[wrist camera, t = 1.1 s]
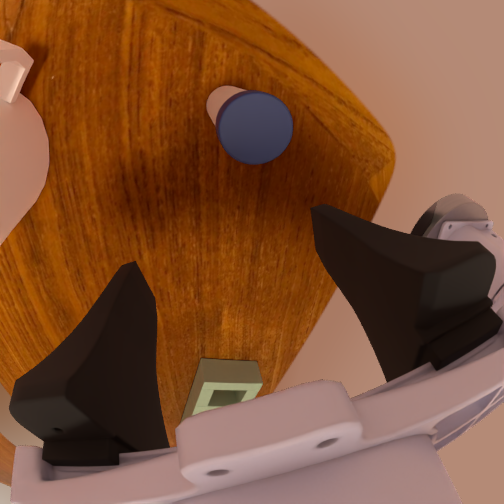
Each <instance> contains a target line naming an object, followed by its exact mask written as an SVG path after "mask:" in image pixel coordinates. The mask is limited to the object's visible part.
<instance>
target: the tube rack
mask: <svg viewBox="0 0 504 504" xmlns="http://www.w3.org/2000/svg"><path fill="white" fill-rule="evenodd" d="M262 385H263V381H262V378H261V374H260V371H259V367H258V364H257V361H239V360H220V359H205V358H201V360H200V363H199V367H198V370H197V373H196V376H195V379H194V382H193V385H192V388H191V391H190V394H189V397H188V400H187V403H186V407H185V410H184V413H183V416H182V419H181V422H180V424H181V423H182V422H183V420H185V419H186V418H187V417H190V416H192V415H195V414H198V413H200V412H203V411H207V410H211V409H215V408H220V407H224V406H228V405H232V404H236V403H239V402H243V401H247V400H250V399H254V398H255V396H256V395H257V393H258V391H259V390H260V388H261V386H262Z"/></svg>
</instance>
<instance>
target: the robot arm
mask: <svg viewBox="0 0 504 504" xmlns="http://www.w3.org/2000/svg"><path fill="white" fill-rule="evenodd" d="M311 216H312V224H313V231H314V239H315V248H316V251H317V253H318V255H319V257H320V259H321V261H322V263H323V265H324V267H325V269H326V270H327V272H328V273H329V274H330V276H331V277H332V279H333V280H334V282H335V283H336V285H337V286H338V287H339V289H340V290H341V292H342V293H343V295H344V296H345V297H346V299H347V300H348V302H349V303H350V305H351V306H352V308H353V309H354V311H355V313H356V315H357V317H358V319H359V320H360V322H361V324H362V326H363V328H364V330H365V332H366V334H367V336H368V338H369V341H370V343H371V345H372V347H373V349H374V351H375V354H376V356H377V359H378V361H379V363H380V366H381V368H382V371H383V373H384V375H385V378H386V381H387V383H385V384H383V385H381V386H379V387H377V388H374V389H372V390H370V391H367V392H365V393H362V394H360V395H358V396H355V397H353V398H351V399H350V398H349V396H348V393H347V391H346V389H345V388H344V386H343V384H342V383H341V382H336V381H328V380H318V381H313V382H308V383H303V384H300V385H297V386H294V387H291V388H288V389H284V390H281V391H278V392H275V393H271V394H268V395H265V396H261V397H258V398H254V399H250V400H247V401H243V402H239V403H236V404H232V405H228V406H224V407H220V408H215V409H211V410H207V411H203V412H200V413H198V414H195V415H192V416H190V417H187V418H186V419H185V420H183V422H182V423H181V424H180V425H179V426H178V427H177V428H176V429H175V430H176V441H177V447H171V448H170V446H169V442H168V438H167V434H166V430H165V425H164V421H163V416H162V410H161V405H160V398H159V392H158V384H157V375H156V345H157V310H156V301H155V297H154V295H153V293H152V291H151V289H150V288H149V286H148V284H147V282H146V280H145V278H144V276H143V274H142V272H141V271H140V269H139V267H138V265H137V263H136V261H134V262H130V263H127V264H124V265H122V266H121V267H120V268H119V270H118V271H117V272H116V274H115V275H114V276H113V278H112V279H111V281H110V282H109V284H108V285H107V287H106V288H105V289H104V291H103V292H102V294H101V295H100V297H99V298H98V300H97V301H96V302H95V304H94V305H93V306H92V308H91V309H90V310H89V312H88V313H87V315H86V316H85V317H84V318H83V320H82V321H81V322H80V323H79V325H78V326H77V327H76V328H75V329H74V330H73V332H72V333H71V334H70V335H69V336H68V337H67V338H66V339H65V340H64V341H63V342H62V343H61V344H60V345H59V346H58V347H57V348H56V349H55V350H54V351H53V352H52V353H51V354H50V355H48V356H47V357H46V358H45V359H44V360H43V361H41V362H40V363H39V364H38V365H37V366H35V367H34V368H33V369H31V370H30V371H29V372H27V373H26V374H24V375H23V376H22V377H20V378H19V379H17V380H16V382H15V385H14V389H13V393H12V397H11V401H10V405H9V410H10V413H11V415H12V416H13V417H14V419H15V420H16V421H17V422H18V423H19V424H21V425H22V426H23V427H24V428H26V429H27V430H29V431H30V432H31V433H33V434H34V435H36V436H37V437H38V438H40V439H41V440H43V441H44V446H43V448H40V447H37V446H21V445H20V446H19V445H18V446H16V451H15V458H14V466H13V475H12V485H11V502H12V503H13V504H463V503H462V501H461V499H460V497H459V495H458V492H457V490H456V488H455V487H454V484H453V482H452V480H451V478H450V476H449V474H448V472H447V470H446V468H445V466H444V464H443V463H442V461H441V459H440V457H439V455H438V453H437V451H439V450H440V449H442V448H443V447H445V446H446V445H448V444H449V443H451V442H452V441H454V440H455V439H456V438H458V437H459V436H461V435H462V434H463V433H465V432H466V431H468V430H469V429H470V428H472V427H473V426H474V425H476V424H477V423H478V422H480V421H481V420H482V419H484V418H485V417H486V416H487V415H489V414H490V413H491V412H492V411H494V410H495V409H496V408H497V407H498V406H499V405H501V404H502V403H503V402H504V239H502V238H501V237H500V236H499V235H497V234H496V233H495V232H493V231H492V227H493V221H491V220H467V221H445V222H443V224H442V226H441V229H440V232H439V235H438V238H437V239H434V238H427V237H422V236H416V235H411V234H407V233H403V232H399V231H396V230H392V229H389V228H386V227H382V226H380V225H377V224H374V223H371V222H369V221H366V220H363V219H361V218H359V217H356V216H354V215H351V214H349V213H347V212H344V211H342V210H340V209H337V208H335V207H332V206H330V205H327V204H322V205H319V206H315V207H311Z"/></svg>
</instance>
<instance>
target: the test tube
mask: <svg viewBox="0 0 504 504" xmlns="http://www.w3.org/2000/svg"><path fill="white" fill-rule="evenodd" d="M206 106H207V112H208V114H209V116H210V118H211V120H212V121H213V123H214V125H215V127H216V133H217V136H218V139H219V141H220V143H221V145H222V147H223V148H224V150H225V151H226V152H227V153H228V154H229V155H230V156H231V157H232V158H234V159H235V160H237V161H239V162H242V163H245V164H254V165H255V164H263V163H266V162H269V161H271V160H273V159H275V158H277V157H278V156H279V155H280V154H281V153H282V152H283V151H284V150H285V149H286V148H287V146H288V144H289V142H290V140H291V137H292V133H293V120H292V116H291V114H290V111H289V110H288V108H287V107H286V105H285V104H284V103H283V102H282V101H281V100H280V99H278V98H277V97H275V96H273V95H271V94H268V93H265V92H261V91H256V90H244V89H241V88H237V87H234V86H222V87H219V88H217V89H215V90H214V91H213V92H212V93H211V94H210V96H209V98H208V100H207V105H206Z"/></svg>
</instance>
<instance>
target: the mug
mask: <svg viewBox="0 0 504 504" xmlns="http://www.w3.org/2000/svg"><path fill="white" fill-rule="evenodd" d="M33 62H34V60H33V59H32V58H31V57H30V56H29V55H28V54H27V52H26V51H25V50H24V49H23V48H21V47H18V46H16V45H13V44H11V43H8V42H6V41H3V40H1V39H0V63H2V64H1V67H0V245H1V244H2V243H3V241H4V240H5V239H6V237H7V236H8V235H9V234H10V232H11V231H12V230H13V228H14V227H15V226H16V225H17V223H18V222H19V221H20V220H21V219H22V217H23V216H24V215H25V214H26V213H27V211H28V210H29V209H30V208H31V207H32V206H33V204H34V203H35V202H36V201H37V199H38V197H39V195H40V193H41V191H42V189H43V187H44V185H45V182H46V177H47V172H48V168H49V140H48V137H47V134H46V131H45V127H44V124H43V120H42V118H41V116H40V115H39V113H38V112H37V110H36V109H35V107H34V106H33V104H32V103H31V101H30V100H29V99H27V98H26V97H25V96H23V95H22V94H21V93H19V92H20V90H21V88H22V85H23V83H24V81H25V79H26V77H27V74H28V72H29V70H30V68H31V66H32V64H33Z"/></svg>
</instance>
